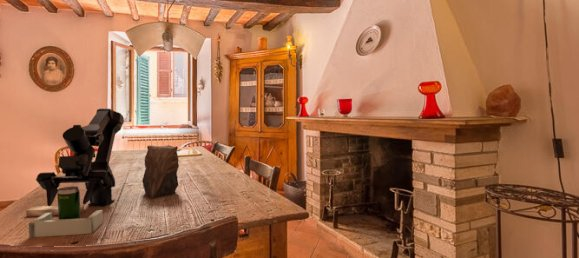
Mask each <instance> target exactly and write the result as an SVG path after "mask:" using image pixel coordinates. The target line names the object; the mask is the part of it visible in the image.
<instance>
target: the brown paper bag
mask: <svg viewBox="0 0 579 258" xmlns="http://www.w3.org/2000/svg"><path fill="white" fill-rule="evenodd" d="M178 148H179V147H178V146H177V145H175V146H173V145H169V144H168V145H164V146H163V145H160V146H159V145H158V146H157V145H147V146H146V149H147V152H146V155H145V156H144V168H145V170H144V173H143V175H142V176H143V177H142V186H143V189H144V195H146V196H147V197H148V198H149V199H151V200H154V199H159V198H163V197H168V196H172V195H175V194H177V192H176V190H177V188H178V187H179V180H178V169H179V167H180V165H179V155H178Z"/></svg>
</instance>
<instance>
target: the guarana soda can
mask: <svg viewBox="0 0 579 258" xmlns="http://www.w3.org/2000/svg"><path fill="white" fill-rule="evenodd" d="M57 189H58V192H57V194H56V196H57V206H58V215H57V217H58V219H57V220H62V219H80V218H81V213H80V205H81V195H80V193H81V192H80V189H79V186H75V185H74V186H65V187H64V186H63V187H60V188H57Z"/></svg>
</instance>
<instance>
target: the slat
mask: <svg viewBox="0 0 579 258" xmlns="http://www.w3.org/2000/svg"><path fill="white" fill-rule="evenodd" d="M83 212H85V205H84V204H80V214H82V213H83ZM45 213H52V216H58V205H51V206H48V205H42V206H41V205H40V206H39V205H38V206H37V205H36V206H32V207H30V208H28V209H26V212H25V214H26V217H38V216H39V217H40V216H42V215H44V214H45Z"/></svg>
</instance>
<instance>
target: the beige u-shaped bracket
mask: <svg viewBox="0 0 579 258" xmlns="http://www.w3.org/2000/svg"><path fill="white" fill-rule="evenodd" d="M102 224H104V211H103V209H96V210H95V211H94V212H93V213H92V214H90V215H89V216H88V217H84V218H81V217H80V219H62V220H58V219H53V215H52V213H45V214H44V215H42V216H39V217H38V216H37V218H35V219H33V220H32V221H30V222H28V234H29V235H28V236H29V238H41V237H55V236H71V235H72V236H73V235H86V234H87V235H88V234H93V233H94V232H95V231H96V230H97V229H98V228H99V227H100V226H101V225H102Z"/></svg>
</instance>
